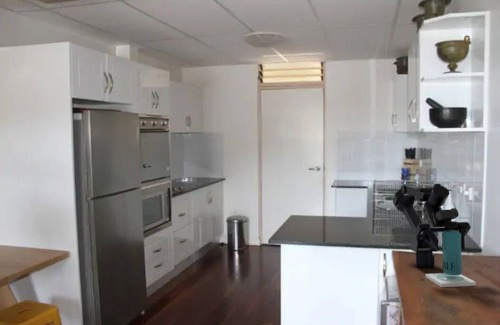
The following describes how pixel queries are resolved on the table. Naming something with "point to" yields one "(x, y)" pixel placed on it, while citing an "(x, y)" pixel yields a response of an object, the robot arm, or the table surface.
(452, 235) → the beverage bottle
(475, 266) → the table surface
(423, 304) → the table surface
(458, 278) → the pad
